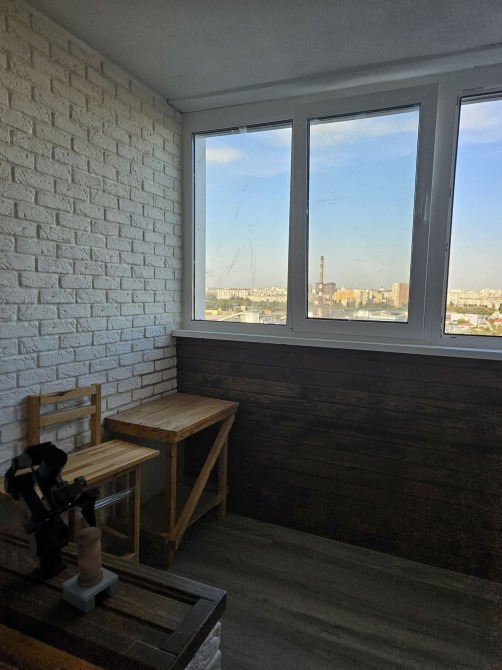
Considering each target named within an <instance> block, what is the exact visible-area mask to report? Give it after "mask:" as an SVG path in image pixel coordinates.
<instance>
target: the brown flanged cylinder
mask: <svg viewBox="0 0 502 670" xmlns="http://www.w3.org/2000/svg"><path fill="white" fill-rule="evenodd" d="M74 536H75V537H74V538H75V543H76V551H77V569H78V571H77V572H78V574H79V573H80V574H79V575H78V577H77V582H78V585H79V586H80V587H83V588H88V587H93V586H95V585H97V584H99V583H100V582H101V581H102V579H103V571H102V570H101V567H103V566H102V548H101V547H102V546H101V538H102V529H101V528H100V527H90V526H89V527H85V528H82V529H80V530H79V531H77V532H76V533H75V535H74Z"/></svg>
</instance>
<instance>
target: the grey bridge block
mask: <svg viewBox="0 0 502 670" xmlns="http://www.w3.org/2000/svg"><path fill="white" fill-rule="evenodd" d="M101 570H102V571H103V579H102V581H101V582H100V583H99V584H97V585H95V586H93V587H88V588H83V587H80V586H79V585H78V582H77V577H78V575H79V574H80V573H79V572H78V573H77V574H75V576H72V577H71V578H69V579H68V580H66V581H64V582H63V583H62V594H63V595H62V597H63V600H64V601H66V602H68V603H69V604H71V605H72V606H74V607H76V609H78V610H80V611H81V612H83V613H85V614H88V613H90V611H92V610H94V608H96V599H95V598H96V596H97V595H98V594H99V593H100V592H103V593H105V594H107V595H108V596H110V597H111V596H113V595H114V594H116V593H117V592H119V590H120V589H119V575H117V574H116V573H114V572H112V571H110V570H108V569H106V568H105V567H103V566H101Z"/></svg>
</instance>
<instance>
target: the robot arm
mask: <svg viewBox="0 0 502 670" xmlns="http://www.w3.org/2000/svg"><path fill="white" fill-rule="evenodd" d="M22 451H23V452H22V454H19V455H17V456H14V457H12V458H11V464H10V466H9V468H8V469H7V470H6V472H5V473H4V477H3V490H4V493H5V494H6V495H8V497H9V498H10V499H11V500H12V501H17V502H19V503H20V504H21V506H22V508H23V510H24V511H25V514H26V516H27V517H28V519H27V520H26V521H25V522H24V525H23V527H24V531H25V533H26V534H27V536H29V535H31V534H33V535H32V536H31V539H30V540H29V542H28V545H29V551H30V553H31V555H32V556H33V557H34V558H35V559H37V565H38V566H37V567H36V568H34V569H32V573H34V574H35V575H36V576H39V577H40V578H42V579H43V580H46V581H47V580H49V579H51V578H52V577H54V576H55V575H57V574H59V573H61V572H62V571H64V570H66V569H68V564H67V563H64V562H63V554H62V552H63V551H62V549H64V548H65V547H67V546H69V541H70V533H71V531H70V530H71V529H70V527H69V526H68V524H67V523H65V521H64V519H63V518H62V517H61V515H63V514H65V513H67V512H69V511H71V510H73V509H75V508H77V507H78V508H79V509H81V510H80V512H79V513H80V514H81V515H82V517H83V518H84V520H85V521H86V523H87V524H88V525H89V527H97V519H96V514H95V513H96V511H95V509H96V508H95V505H96V503H97V502H98V500H99V497H100V496H101V494H102V493H101V491H100V489H99V488H98V487H97V486H92V487H90V488H89V489H86V490H84V488H86V487H88V483H87V479H86V478H85V476H84V475H83V474H82V475H79V476H77V477H75V478H74V479H73V482H71V483H69V481H68V480H67V479H63V477H62V476H61V474H62V473H63V470H64V468H65V467H66V464H67V462H68V458H69V457H68V454H67V452H66V451H64V450H63V449H61V448H58V446H56V444H54V443H53V442H52V441H51V440H49V441H43V442H39V443H35V444H31V445H26V447H25V448H24V449H23V450H22ZM37 466H38V467H37ZM35 467H37V468H35ZM27 468H30V471H27V472H23V473H20V474H17V471H20V470H24V469H27ZM37 487H38V489H39V491H40V493H41V495H42V496H41V497H40V496H39V494H38V493H37ZM79 494H80V495H79ZM78 495H79V496H78ZM77 497H78V498H77ZM75 498H76V499H75ZM44 501H45V503H46V504H47V506H48V508H49V509H47V507H46V506H45V504H44ZM97 528H98V527H97Z"/></svg>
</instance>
